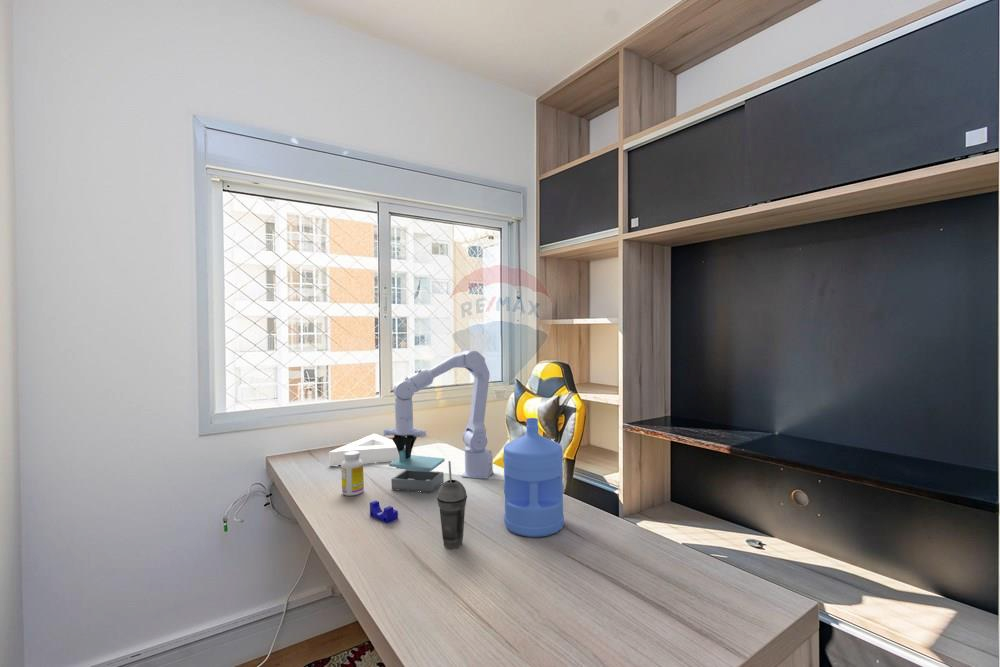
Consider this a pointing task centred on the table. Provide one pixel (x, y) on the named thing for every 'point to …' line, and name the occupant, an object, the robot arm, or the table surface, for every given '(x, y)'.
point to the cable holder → (383, 512)
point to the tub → (417, 480)
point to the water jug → (533, 484)
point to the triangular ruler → (367, 450)
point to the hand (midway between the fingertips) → (405, 457)
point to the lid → (416, 462)
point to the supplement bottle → (352, 474)
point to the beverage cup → (452, 511)
